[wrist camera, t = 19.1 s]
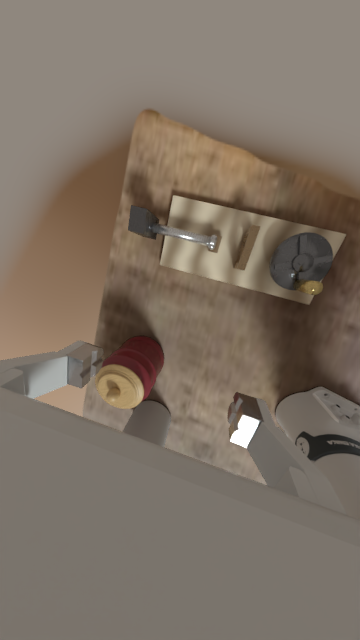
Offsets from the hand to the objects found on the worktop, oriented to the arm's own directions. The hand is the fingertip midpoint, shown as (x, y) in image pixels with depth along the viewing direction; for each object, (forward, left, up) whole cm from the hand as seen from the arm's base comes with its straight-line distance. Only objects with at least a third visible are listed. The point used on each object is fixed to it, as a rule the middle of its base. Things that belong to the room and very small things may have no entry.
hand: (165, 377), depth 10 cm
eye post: (-6, -11, -32) cm, 34 cm away
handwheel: (-16, -11, -29) cm, 35 cm away
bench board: (-6, -11, -33) cm, 35 cm away
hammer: (+8, -11, -31) cm, 34 cm away
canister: (+11, +22, -33) cm, 41 cm away
